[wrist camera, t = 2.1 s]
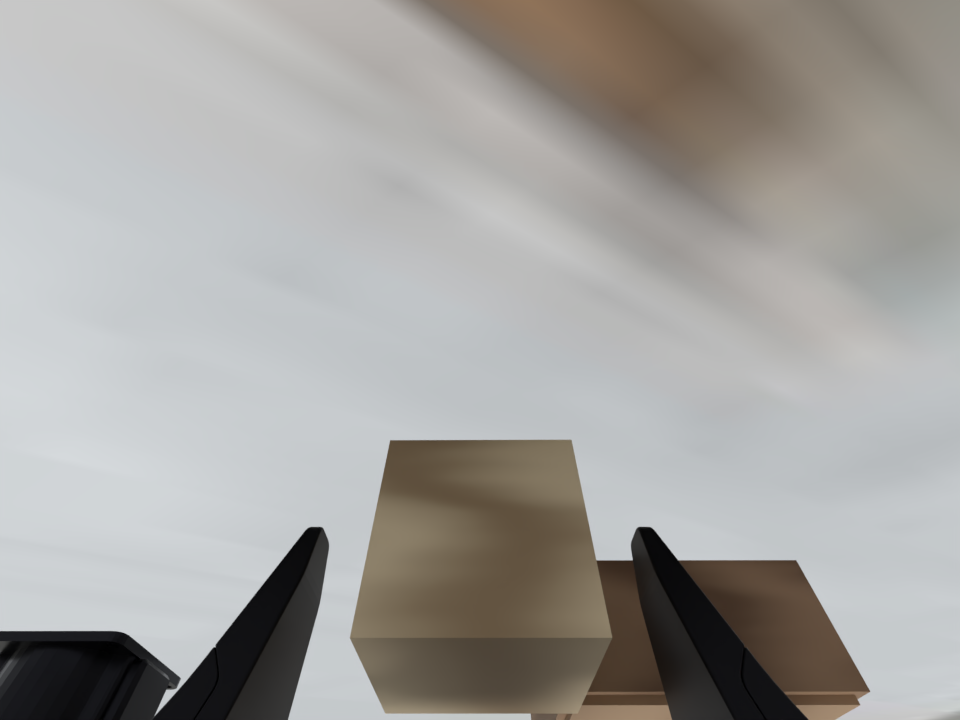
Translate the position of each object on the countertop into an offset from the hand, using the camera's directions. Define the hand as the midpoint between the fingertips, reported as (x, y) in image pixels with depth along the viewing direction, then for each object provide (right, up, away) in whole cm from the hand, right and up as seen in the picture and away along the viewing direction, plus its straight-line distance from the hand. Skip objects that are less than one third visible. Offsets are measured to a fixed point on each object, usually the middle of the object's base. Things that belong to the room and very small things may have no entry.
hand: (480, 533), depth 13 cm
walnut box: (+7, -7, +7) cm, 12 cm away
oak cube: (0, +1, +1) cm, 1 cm away
